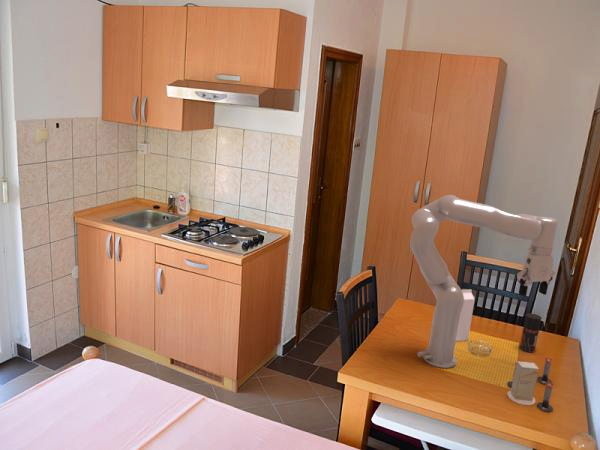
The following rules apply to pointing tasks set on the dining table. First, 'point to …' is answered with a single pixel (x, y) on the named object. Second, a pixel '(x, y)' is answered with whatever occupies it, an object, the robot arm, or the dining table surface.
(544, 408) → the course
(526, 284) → the robot arm
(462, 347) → the dining table surface
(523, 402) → the pad
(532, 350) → the deodorant
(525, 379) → the skincare box
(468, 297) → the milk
